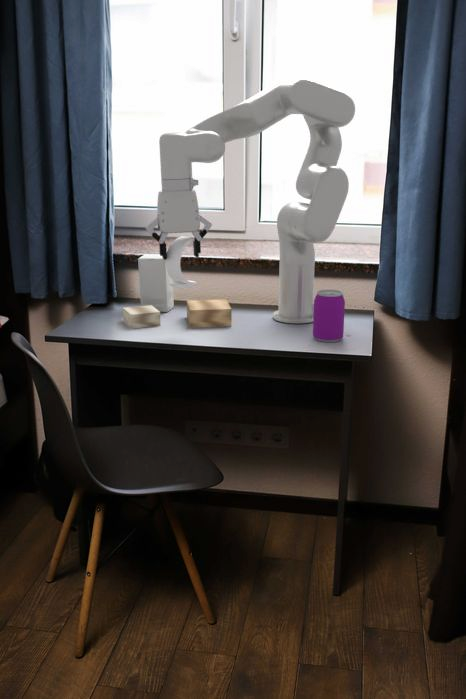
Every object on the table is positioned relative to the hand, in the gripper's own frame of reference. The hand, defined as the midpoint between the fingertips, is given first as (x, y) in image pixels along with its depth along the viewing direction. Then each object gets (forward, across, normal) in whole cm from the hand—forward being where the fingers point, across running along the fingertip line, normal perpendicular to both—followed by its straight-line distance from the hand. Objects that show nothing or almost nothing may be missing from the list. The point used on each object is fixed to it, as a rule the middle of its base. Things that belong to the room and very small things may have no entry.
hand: (180, 257), depth 200 cm
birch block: (+20, +9, -13) cm, 25 cm away
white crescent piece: (+8, 0, 0) cm, 8 cm away
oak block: (+21, -9, -11) cm, 25 cm away
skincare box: (+20, +3, -27) cm, 34 cm away
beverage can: (+21, -35, +12) cm, 42 cm away
